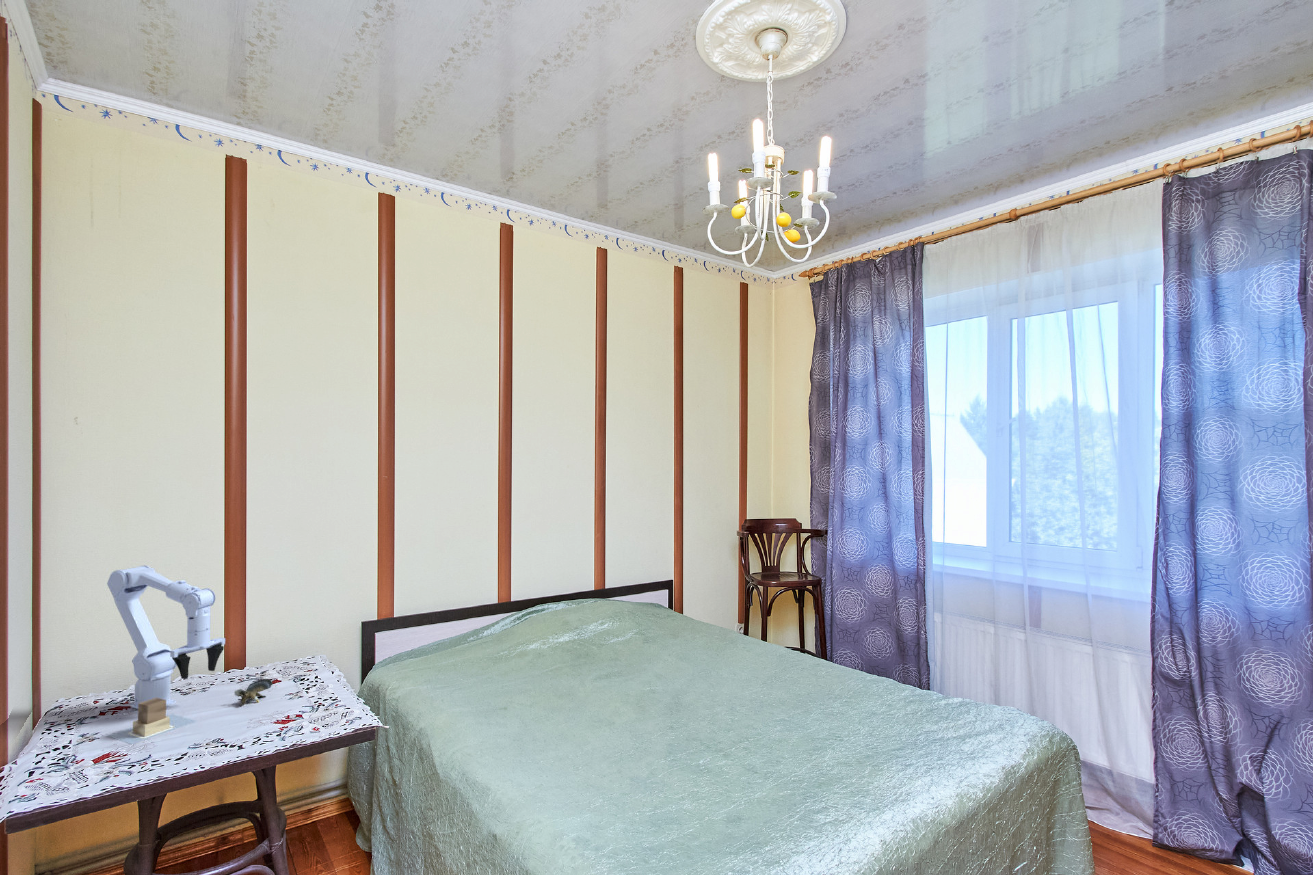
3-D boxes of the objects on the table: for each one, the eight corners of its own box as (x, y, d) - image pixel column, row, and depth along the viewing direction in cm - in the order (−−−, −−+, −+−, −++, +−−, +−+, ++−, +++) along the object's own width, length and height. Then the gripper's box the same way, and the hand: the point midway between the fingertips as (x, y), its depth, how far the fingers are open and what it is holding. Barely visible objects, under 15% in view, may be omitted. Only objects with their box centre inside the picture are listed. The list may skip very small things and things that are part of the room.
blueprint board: (107, 737, 171) (107, 735, 171) (172, 715, 185) (172, 713, 185) (131, 745, 166) (131, 743, 166) (196, 722, 180) (196, 720, 180)
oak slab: (132, 732, 173) (132, 721, 173) (157, 724, 178) (157, 713, 178) (144, 736, 170) (145, 725, 170) (169, 727, 176) (169, 717, 176)
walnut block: (137, 721, 173) (138, 703, 173) (156, 715, 177) (156, 697, 177) (147, 724, 171) (147, 705, 171) (165, 717, 175) (166, 700, 176)
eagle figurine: (257, 703, 191) (278, 687, 200) (244, 685, 191) (265, 670, 200) (240, 715, 193) (261, 698, 202) (226, 696, 192) (248, 681, 201)
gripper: (180, 637, 183) (179, 683, 182) (231, 625, 196) (230, 668, 196) (166, 634, 186) (165, 680, 185) (217, 623, 199) (217, 665, 199)
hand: (198, 674), depth 191 cm, fingers open, 7 cm apart
